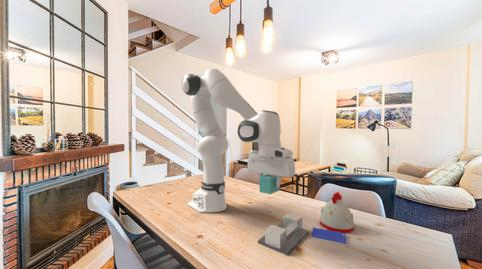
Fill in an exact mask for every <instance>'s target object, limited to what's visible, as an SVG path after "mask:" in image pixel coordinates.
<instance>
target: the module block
mask: <svg viewBox="0 0 482 269" xmlns="http://www.w3.org/2000/svg"><path fill="white" fill-rule="evenodd" d="M258 178H259V180H258V183H259V193H263V194H267V195H273V194H274V193H277V192H279V191H280V190H281V189H280V187H281V186H280V187H278V188H277V187H274V183H275V182H277V180H278V179H277V176H273V175H266V174H263V176H261V177H258Z"/></svg>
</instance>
